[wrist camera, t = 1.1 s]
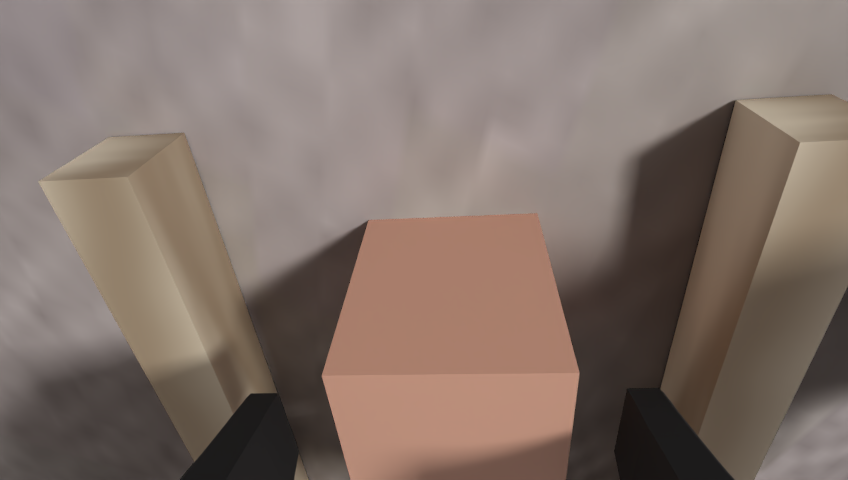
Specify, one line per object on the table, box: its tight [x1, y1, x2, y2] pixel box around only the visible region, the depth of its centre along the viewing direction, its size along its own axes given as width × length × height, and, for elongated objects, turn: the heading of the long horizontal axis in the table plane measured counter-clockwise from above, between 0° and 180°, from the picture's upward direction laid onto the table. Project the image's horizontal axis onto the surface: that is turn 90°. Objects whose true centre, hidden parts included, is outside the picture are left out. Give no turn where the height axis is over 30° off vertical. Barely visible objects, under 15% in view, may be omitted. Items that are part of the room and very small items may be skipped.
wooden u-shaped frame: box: [38, 94, 848, 480], centre depth 15 cm, size 17×18×4 cm
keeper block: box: [322, 213, 579, 480], centre depth 12 cm, size 4×4×6 cm
